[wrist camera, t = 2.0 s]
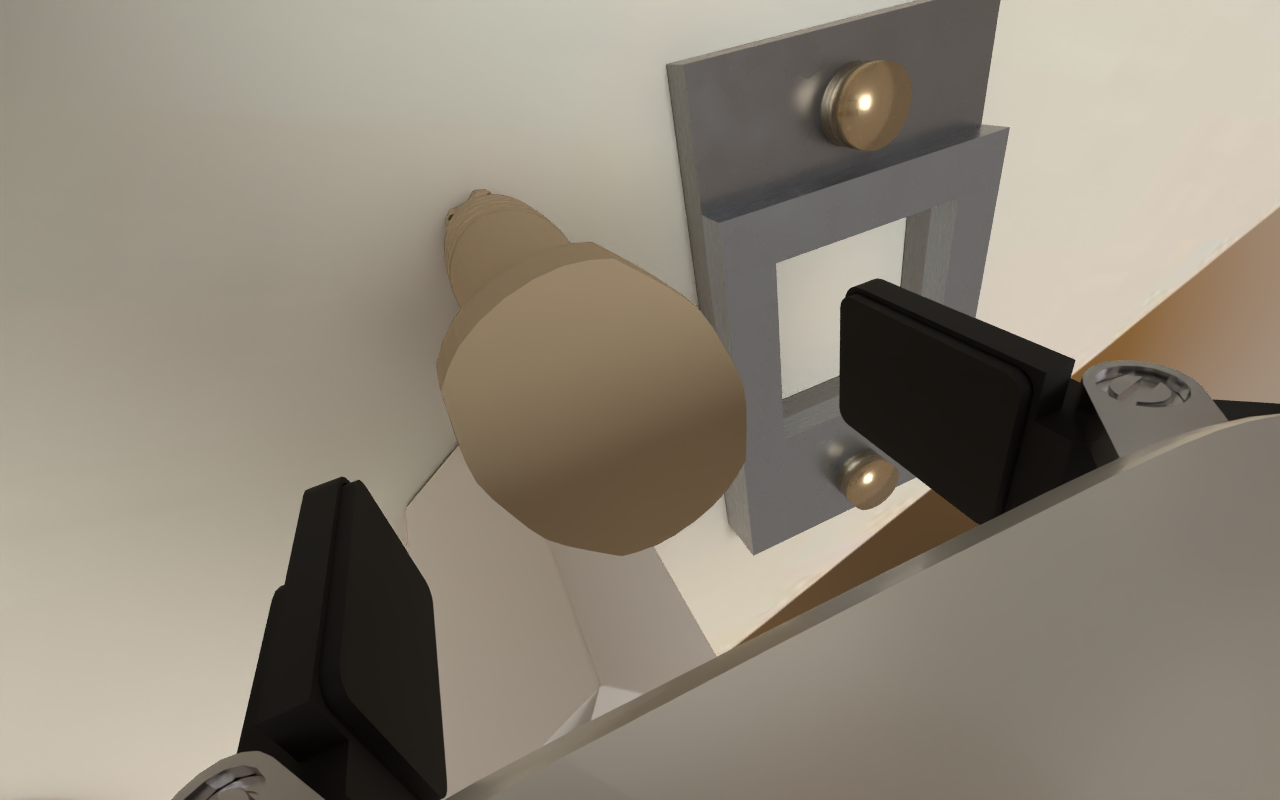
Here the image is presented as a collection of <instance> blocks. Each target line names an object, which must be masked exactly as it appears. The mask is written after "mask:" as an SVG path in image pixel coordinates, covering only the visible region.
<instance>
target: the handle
mask: <svg viewBox="0 0 1280 800" xmlns="http://www.w3.org/2000/svg"><path fill="white" fill-rule="evenodd" d="M445 223H446V226H447V230H446V235H445V243H444V250H445V262H446V268H447V273H448V277H449V280H450V283H451V286H452V289H453V292H454V295H455V298H456V300H457V302H458V304H459V306H460V308H461V310H460V311H459V313H458V314H457V315H456V316H455V318H454V319H453V321H452V323H451V325H450V327H449V329H448V332H447V334H446V336H445V338H444V340H443V343H442V346H441V349H440V353H439V356H438V359H437V373H438V379H439V385H440V390H441V394H442V397H443V400H444V403H445V406H446V409H447V412H448V415H449V418H450V421H451V424H452V427H453V430H454V433H455V436H456V438H457V441H458V444H459V447H460V449H461V452H462V455H463V457H464V460H465V462H466V464H467V466H468V468H469V470H470V472H471V473H472V475H473V477H474V479H475V481H476V483H477V484H478V485H479V486H480V487H481V488H482V489H483V490H484V491H485V492H486V493H487V494H488V495H489V496H490V497H491V498H492V499H493V500H494V501H495V502H496V503H498V504H499V505H500V506H501V507H503V508H504V509H505V510H506V511H508V512H509V513H510V514H511V515H512V516H514V517H515V518H516V519H517V520H519V521H520V522H521V523H522V524H524V525H525V526H526V527H527V528H529V529H530V530H532V531H534V532H535V533H537V534H538V535H540V536H542V537H543V538H545V539H547V540H550V541H553V542H556V543H559V544H562V545H565V546H569V547H574V548H579V549H584V550H589V551H594V552H600V553H606V554H611V555H617V556H625V555H628V554H632V553H636V552H639V551H642V550H645V549H647V548H650V547H653V546H655V545H657V544H659V543H661V542H663V541H665V540H667V539H668V538H670V537H672V536H674V535H676V534H677V533H678V532H680V531H681V530H683V529H684V528H686V527H687V526H688V525H690V524H691V523H693V522H694V521H696V520H697V519H698V518H699V517H700V516H701V515H702V514H704V513H705V512H706V511H707V510H708V509H709V508H711V507H712V506H713V505H714V504H715V503H716V502H717V501H718V500H719V498H720V497H721V496H722V495H723V494H724V493H725V492H726V491H727V490H728V488H729V487H730V486H731V484H732V483H733V481H734V480H735V478H736V477H737V475H738V474H739V472H740V470H741V468H742V466H743V464H744V463H745V461H746V434H747V418H746V400H745V392H744V386H743V383H742V381H741V379H740V376H739V374H738V371H737V369H736V367H735V365H734V363H733V361H732V360H731V358H730V356H729V354H728V353H727V351H726V349H725V347H724V346H723V344H722V342H721V340H720V339H719V337H718V335H717V333H716V332H715V330H714V328H713V327H712V326H711V324H710V323H709V322H708V320H707V319H706V318H705V316H704V315H703V314H702V312H701V311H700V310H699V309H698V308H697V307H696V306H694V305H693V304H692V303H691V302H690V301H689V300H687V299H686V298H685V297H684V296H683V295H681V294H680V293H678V292H677V291H675V290H674V289H672V288H671V287H669V286H668V285H667V284H665V283H664V282H662V281H661V280H659V279H658V278H656V277H655V276H653V275H651V274H650V273H648V272H646V271H644V270H643V269H641V268H639V267H638V266H636V265H634V264H632V263H631V262H629V261H627V260H625V259H623V258H621V257H620V256H618V255H616V254H614V253H612V252H610V251H608V250H606V249H604V248H602V247H601V246H599V245H597V244H595V243H593V242H583V243H570V242H569V240H568V239H567V238H566V237H565V235H564V234H563V233H562V232H561V231H560V230H559V229H558V228H557V227H556V226H555V225H554V224H552V223H551V222H550V221H549V220H548V219H547V218H545V217H544V216H543V215H542V214H541V213H539V212H538V211H536V210H535V209H533V208H531V207H530V206H528V205H527V204H525V203H523V202H521V201H519V200H516V199H514V198H511V197H508V196H504V195H495V194H493V195H492V194H491V193H490V192H489V191H487V190H486V189H484V190H476V191H473V192H472V195H471V197H470V198H469V199H468V200H467V201H466V202H465V203H464V204H462V205H461V206H459V207H456V208H451V209H450V210H449V212H448V214H447V217H446V220H445Z"/></svg>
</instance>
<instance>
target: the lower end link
mask: <svg viewBox="0 0 1280 800" xmlns="http://www.w3.org/2000/svg"><path fill="white" fill-rule="evenodd" d="M999 5H1000V0H917V1H913V2H909V3H905V4H901V5H897V6H894V7H890V8H886V9H882V10H878V11H874V12H870V13H866V14H862V15H858V16H854V17H850V18H847V19H843V20H839V21H835V22H831V23H827V24H823V25H819V26H815V27H811V28H807V29H804V30H800V31H796V32H792V33H788V34H784V35H780V36H776V37H772V38H768V39H764V40H760V41H757V42H753V43H749V44H745V45H741V46H737V47H733V48H729V49H725V50H721V51H717V52H713V53H710V54H706V55H702V56H698V57H694V58H690V59H686V60H682V61H678V62H674V63H670V64H667V73H668V80H669V87H670V95H671V102H672V109H673V117H674V124H675V132H676V139H677V146H678V154H679V161H680V168H681V176H682V183H683V190H684V198H685V205H686V213H687V220H688V227H689V235H690V242H691V249H692V257H693V264H694V271H695V279H696V286H697V294H698V301H699V308H700V311H701V312H702V314H703V315H704V316H705V318H706V319H707V320H708V322H709V323H710V324H711V326H712V327H713V328H714V330H715V322H714V314H713V306H712V297H711V289H710V281H709V272H708V264H707V256H706V247H705V239H704V231H703V223H702V215H703V214H706V213H709V212H713V211H716V210H719V209H722V208H725V207H728V206H731V205H734V204H737V203H740V202H743V201H747V200H750V199H753V198H756V197H759V196H762V195H765V194H768V193H771V192H774V191H777V190H780V189H784V188H787V187H790V186H793V185H796V184H799V183H802V182H805V181H808V180H811V179H814V178H817V177H821V176H824V175H827V174H830V173H833V172H836V171H839V170H842V169H845V168H848V167H851V166H855V165H858V164H861V163H864V162H867V161H870V160H873V159H876V158H879V157H882V156H885V155H888V154H892V153H895V152H898V151H901V150H904V149H907V148H910V147H913V146H916V145H919V144H922V143H926V142H929V141H932V140H935V139H938V138H941V137H944V136H947V135H950V134H953V133H956V132H959V131H963V130H966V129H969V128H972V127H975V126H978V125H981V123H982V116H983V110H984V103H985V97H986V90H987V84H988V77H989V71H990V64H991V58H992V51H993V44H994V38H995V31H996V25H997V18H998V12H999ZM930 215H931V208H930V209H927V210H924V211H921V212H918V213H916V214H913V215H910V216H907V225H906V236H905V247H904V258H903V269H902V280H901V287H902V288H904V289H906V290H909V291H911V292H914V293H916V294H918V295H921V294H922V285H923V276H924V268H925V259H926V250H927V242H928V233H929V224H930ZM715 332H716V330H715ZM839 387H840V376H838V377H836V378H834V379H831V380H829V381H826V382H824V383H822V384H819V385H817V386H814V387H812V388H810V389H807V390H805V391H802V392H800V393H798V394H795V395H793V396H790V397H788V398H786V399H783V400H782V407H783V419H784V418H786V417H789V416H791V415H793V414H796V413H798V412H800V411H803V410H805V409H807V408H810V407H812V406H815V405H817V404H819V403H822V402H824V401H826V400H829V399H831V398H833V397H836V396H838V395H839Z"/></svg>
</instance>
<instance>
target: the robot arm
mask: <svg viewBox="0 0 1280 800" xmlns="http://www.w3.org/2000/svg"><path fill="white" fill-rule="evenodd" d="M1074 364H1075V360H1074V359H1072V358H1070V357H1067V356H1065V355H1062V354H1060V353H1058V352H1055V351H1053V350H1050V349H1048V348H1046V347H1043V346H1041V345H1038V344H1036V343H1034V342H1031V341H1029V340H1026V339H1024V338H1022V337H1019V336H1017V335H1014V334H1012V333H1010V332H1007V331H1005V330H1002V329H1000V328H998V327H995V326H993V325H990V324H988V323H986V322H983V321H981V320H978V319H976V318H974V317H971V316H969V315H966V314H964V313H962V312H959V311H957V310H954V309H952V308H950V307H947V306H945V305H942V304H940V303H938V302H935V301H933V300H930V299H928V298H926V297H923V296H921V295H918V294H916V293H914V292H911V291H909V290H906V289H904V288H902V287H899V286H897V285H894V284H892V283H890V282H887V281H885V280H882V279H874V280H871V281H868V282H865V283H863V284H860V285H857V286H855V287H852V288H850V289H849V290H848V291H847V294H846V297H845V298H844V299H843V300H842V302H841V307H840V387H839V409H840V413H841V416H842V418H843V420H844V421H845V422H846V423H847V424H848V425H849V426H850V427H852V428H853V429H854V430H855V431H857V432H858V433H859V434H861V435H862V436H863V437H865V438H866V439H867V440H869V441H870V442H871V443H872V444H874V445H875V446H876V447H878V448H879V449H880V450H882V451H883V452H884V453H885V454H887V455H888V456H889V457H891V458H892V459H893V460H895V461H896V462H897V463H899V464H900V465H901V466H902V467H904V468H905V469H906V470H908V471H909V472H910V473H912V474H913V475H914V476H915V477H917V478H918V479H919V480H921V481H922V482H923V483H925V484H926V485H927V486H929V487H930V488H931V489H932V490H934V491H935V492H936V493H938V494H939V495H940V496H942V497H943V498H944V499H946V500H947V501H948V502H949V503H951V504H952V505H953V506H955V507H956V508H957V509H959V510H960V511H961V512H962V513H964V514H965V515H966V516H968V517H969V518H970V519H972V520H973V521H975V522H976V523H978V524H980V525H979V526H978V527H976V528H973V529H971V530H969V531H967V532H965V533H963V534H961V535H959V536H957V537H955V538H953V539H951V540H949V541H947V542H945V543H943V544H941V545H939V546H937V547H935V548H933V549H931V550H929V551H927V552H925V553H923V554H921V555H919V556H917V557H915V558H913V559H911V560H909V561H907V562H905V563H903V564H901V565H899V566H897V567H895V568H893V569H891V570H889V571H887V572H885V573H883V574H881V575H879V576H877V577H875V578H873V579H871V580H869V581H867V582H865V583H863V584H861V585H859V586H857V587H855V588H853V589H851V590H849V591H847V592H845V593H843V594H841V595H839V596H837V597H835V598H833V599H831V600H829V601H827V602H825V603H823V604H821V605H819V606H817V607H815V608H813V609H811V610H809V611H807V612H805V613H803V614H801V615H799V616H797V617H795V618H793V619H791V620H789V621H787V622H785V623H783V624H781V625H779V626H777V627H775V628H773V629H771V630H769V631H767V632H765V633H763V634H761V635H759V636H757V637H755V638H753V639H751V640H749V641H747V642H745V643H743V644H741V645H739V646H737V647H735V648H733V649H731V650H729V651H728V652H726V653H724V654H722V655H720V656H718V657H716V658H714V659H712V660H710V661H708V662H706V663H704V664H702V665H700V666H698V667H696V668H694V669H692V670H690V671H688V672H686V673H684V674H682V675H680V676H678V677H676V678H674V679H672V680H670V681H668V682H666V683H664V684H663V685H661V686H659V687H657V688H655V689H653V690H651V691H649V692H647V693H645V694H643V695H641V696H639V697H637V698H635V699H633V700H631V701H629V702H627V703H625V704H623V705H621V706H619V707H617V708H615V709H613V710H611V711H609V712H607V713H605V714H603V715H601V716H600V717H598V718H596V719H594V720H592V721H590V722H588V723H586V724H584V725H582V726H580V727H578V728H576V729H575V730H573V731H571V732H569V733H567V734H565V735H563V736H561V737H559V738H558V739H556V740H554V741H552V742H550V743H548V744H546V745H544V746H542V747H540V748H539V749H537V750H535V751H533V752H531V753H529V754H527V755H525V756H523V757H522V758H520V759H518V760H516V761H514V762H512V763H510V764H508V765H506V766H505V767H503V768H501V769H499V770H497V771H495V772H493V773H491V774H489V775H487V776H486V777H484V778H482V779H480V780H478V781H476V782H474V783H473V784H471V785H469V786H467V787H466V788H464V789H462V790H461V791H459V792H457V793H455V794H454V795H452V796H450V797H449V798H447V799H445V800H1280V404H1275V403H1259V402H1243V401H1227V400H1212V399H1211V397H1210V396H1209V395H1208V393H1207V392H1206V391H1205V390H1204V388H1203V387H1202V386H1201V385H1200V384H1199V383H1197V382H1196V381H1195V380H1194V379H1193V378H1191V377H1190V376H1187V375H1186V374H1184V373H1182V372H1180V371H1178V370H1174V369H1171V368H1169V367H1166V366H1163V365H1158V364H1153V363H1147V362H1141V361H1127V360H1124V361H1109V362H1105V363H1100V364H1097V365H1094V366H1093V367H1091V368H1089V369H1087V370H1086V372H1085V373H1084V375H1083V376H1082V380H1081V383H1080V382H1077V381H1075V380H1073V379H1071V378H1070V377H1071V374H1072V371H1073V367H1074ZM446 795H447V774H446V761H445V748H444V736H443V723H442V710H441V697H440V684H439V671H438V659H437V646H436V633H435V620H434V607H433V599H432V595H431V591H430V588H429V586H428V584H427V582H426V580H425V579H424V577H423V576H422V574H421V572H420V571H419V569H418V568H417V566H416V565H415V563H414V562H413V560H412V558H411V557H410V555H409V554H408V552H407V551H406V549H405V547H404V546H403V544H402V543H401V541H400V540H399V538H398V536H397V535H396V533H395V532H394V530H393V529H392V527H391V525H390V524H389V522H388V521H387V519H386V518H385V516H384V514H383V513H382V511H381V510H380V508H379V507H378V505H377V503H376V502H375V500H374V499H373V497H372V496H371V494H370V492H369V491H368V489H367V488H366V486H365V485H364V484H363V482H361V481H360V480H357V481H354V482H351V483H350V482H349V480H347V479H346V478H345V477H340V478H337V479H334V480H332V481H329V482H326V483H323V484H321V485H318V486H315V487H313V488H310V489H308V490H306V491H305V493H304V495H303V499H302V504H301V509H300V514H299V518H298V523H297V528H296V533H295V537H294V542H293V547H292V552H291V556H290V561H289V566H288V571H287V575H286V580H285V585H283V586H281V587H279V588H278V589H277V590H276V591H275V594H274V596H273V599H272V602H271V606H270V611H269V615H268V619H267V624H266V628H265V633H264V637H263V641H262V646H261V650H260V654H259V659H258V663H257V668H256V672H255V676H254V681H253V685H252V689H251V694H250V698H249V702H248V707H247V711H246V716H245V720H244V724H243V729H242V733H241V737H240V742H239V746H238V751H237V754H235V755H232V756H230V757H227V758H225V759H222V760H220V761H218V762H217V763H215V764H214V765H212V766H211V767H209V768H207V769H206V770H204V771H203V772H201V773H199V774H198V775H197V776H196V777H195V778H194V779H193V780H191V781H190V782H189V783H188V784H187V785H186V786H185V787H184V788H182V789H181V790H180V791H179V792H178V793H177V794H176V795H175V796H174V798H173V799H172V800H441V799H443V798H445V797H446Z"/></svg>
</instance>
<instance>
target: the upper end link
mask: <svg viewBox="0 0 1280 800" xmlns="http://www.w3.org/2000/svg"><path fill="white" fill-rule="evenodd" d="M1009 128H1010V127H1002V126H992V125H982V124H981V125H978V126H975V127H972V128H969V129H966V130H963V131H959V132H956V133H953V134H950V135H947V136H944V137H941V138H938V139H935V140H932V141H929V142H926V143H922V144H919V145H916V146H913V147H910V148H907V149H904V150H901V151H898V152H895V153H892V154H888V155H885V156H882V157H879V158H876V159H873V160H870V161H867V162H864V163H861V164H858V165H855V166H851V167H848V168H845V169H842V170H839V171H836V172H833V173H830V174H827V175H824V176H821V177H817V178H814V179H811V180H808V181H805V182H802V183H799V184H796V185H793V186H790V187H787V188H784V189H780V190H777V191H774V192H771V193H768V194H765V195H762V196H759V197H756V198H753V199H750V200H747V201H743V202H740V203H737V204H734V205H731V206H728V207H725V208H722V209H719V210H716V211H713V212H709V213H706V214H703V215H702V223H703V231H704V239H705V247H706V256H707V264H708V272H709V281H710V289H711V297H712V306H713V314H714V322H715V330H716V333H717V335H718V337H719V339H720V340H721V342H722V344H723V346H724V347H725V349H726V351H727V353H728V354H729V356H730V358H731V360H732V361H733V363H734V365H735V367H736V369H737V371H738V374H739V376H740V379H741V381H742V383H743V386H744V392H745V400H746V418H747V434H746V461H745V463H744V464H743V466H742V468H741V470H740V472H739V474H738V475H737V477H736V478H735V480H734V481H733V483H732V484H731V486H730V487H729V488H728V490H727V491H726V492H725V500H726V507H727V514H728V522H729V524H730V526H731V527H732V528H733V529H734V531H735V532H736V533H737V535H738V536H739V537H740V539H741V540H742V541H743V543H744V544H745V545H746V546H747V548H748V549H749V550H750V552H751V553H752V554H753V556H754V555H756V554H758V553H760V552H762V551H764V550H766V549H768V548H770V547H772V546H774V545H776V544H779V543H781V542H783V541H785V540H787V539H789V538H791V537H793V536H795V535H797V534H799V533H801V532H803V531H806V530H808V529H810V528H812V527H814V526H816V525H818V524H820V523H822V522H824V521H826V520H828V519H830V518H833V517H835V516H837V515H839V514H841V513H843V512H845V511H847V510H849V509H851V508H853V507H855V506H856V507H857V508H859V509H861V510H867V509H871V508H874V507H876V506H878V505H879V504H881V503H882V502H883V501H885V500H886V499H887V498H888V497H889V496H890V494H891V493H892V492H893V490H894V489H895V487H897V486H899V485H901V484H903V483H905V482H907V481H909V480H912V479H914V478H916V477H915V476H914V475H913V474H912V473H910V472H909V471H908V470H906V469H905V468H904V467H902V466H901V465H900V464H899V463H897V462H896V461H895V460H893V459H892V458H891V457H889V456H888V455H887V454H885V453H884V452H883V451H882V450H880V449H879V448H878V447H876V446H875V445H874V444H872V443H871V442H870V441H869V440H867V439H866V438H865V437H863V436H862V435H861V434H859V433H858V432H857V431H855V430H854V429H853V428H852V427H850V426H849V425H848V424H847V423H846V422H845V421H844V420H843V418H842V416H841V413H840V409H839V395H838V396H836V397H833V398H831V399H829V400H826V401H824V402H822V403H819V404H817V405H815V406H812V407H810V408H807V409H805V410H803V411H800V412H798V413H796V414H793V415H791V416H789V417H786V418H784V419H783V407H782V385H781V364H780V342H779V321H778V299H777V278H776V263H778V262H781V261H784V260H786V259H789V258H792V257H795V256H798V255H800V254H803V253H806V252H809V251H812V250H815V249H817V248H820V247H823V246H826V245H829V244H831V243H834V242H837V241H840V240H843V239H845V238H848V237H851V236H854V235H857V234H859V233H862V232H865V231H868V230H871V229H873V228H876V227H879V226H882V225H885V224H888V223H890V222H893V221H896V220H899V219H902V218H904V217H907V216H910V215H913V214H916V213H918V212H921V211H924V210H927V209H930V208H931V215H930V224H929V233H928V242H927V250H926V259H925V268H924V276H923V285H922V294H921V296H923V297H926V298H928V299H930V300H933V301H935V302H938V303H940V304H942V305H945V306H947V307H950V308H952V309H954V310H957V311H959V312H962V313H964V314H966V315H969V316H971V317H974V318H975V317H976V311H977V306H978V300H979V295H980V289H981V284H982V278H983V273H984V267H985V261H986V256H987V250H988V245H989V239H990V234H991V228H992V223H993V217H994V211H995V206H996V200H997V195H998V189H999V184H1000V178H1001V173H1002V167H1003V162H1004V156H1005V150H1006V145H1007V139H1008V134H1009Z"/></svg>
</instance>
